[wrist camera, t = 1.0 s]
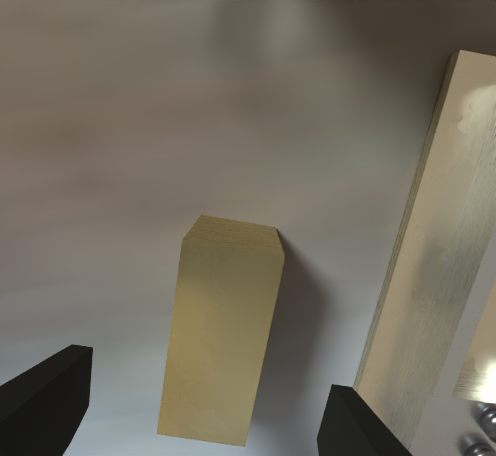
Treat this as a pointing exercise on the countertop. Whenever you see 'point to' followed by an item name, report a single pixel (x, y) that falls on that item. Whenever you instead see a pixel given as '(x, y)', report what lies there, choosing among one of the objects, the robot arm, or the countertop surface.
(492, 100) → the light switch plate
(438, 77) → the countertop surface
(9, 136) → the countertop surface
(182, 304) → the yellow block
